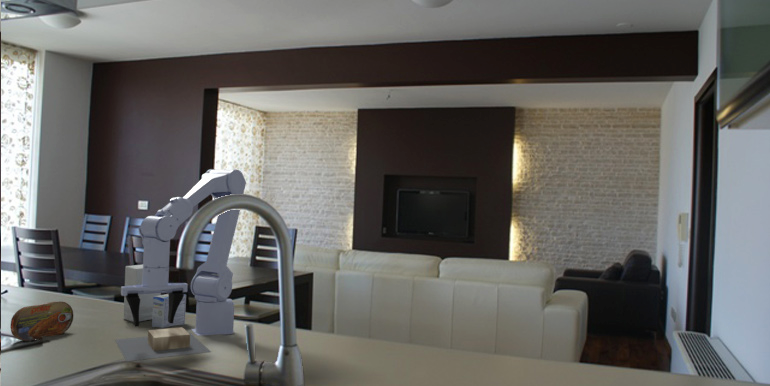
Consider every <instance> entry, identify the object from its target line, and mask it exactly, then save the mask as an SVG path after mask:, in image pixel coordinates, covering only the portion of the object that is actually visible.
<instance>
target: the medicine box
mask: <svg viewBox="0 0 770 386" xmlns="http://www.w3.org/2000/svg"><path fill="white" fill-rule="evenodd" d="M183 294H184V293H183ZM186 304H187V294H186V293H185V294H184V297H183V299H182V300H181V302H180V304H179V306H178V308H177V311H176V313H175V317H174V321H173V323H169V322H168V312H169V296H168V293H166V294H165V293H164V294H161V295H159V296H154V297H153V315H152V319H151V327H152V328H160V329H166V328H168V327H171V326H180V325H181V326H183V325H185V324H186V306H187V305H186Z"/></svg>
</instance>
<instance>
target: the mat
mask: <svg viewBox="0 0 770 386" xmlns="http://www.w3.org/2000/svg"><path fill="white" fill-rule="evenodd" d="M188 333H189V334H190V347H186V348H177V349H167V350H158V351H153V349H152V348H151V347H150V345H149V344H148V336H140V337H128V338H127V337H126V338H120V339H119V338H117V339H114V341H115V342H116V343H115V344H116V345H117V347H118V349H119V350H120V353H121V355H122V356H123V358H124V359H125V361H126V362H134V361H144V360H152V359H153V360H154V359H162V358H171V357H181V356H189V355H197V354H205V353H211V352H212V351H211V350H210V349H209V348H207V346H206V345H204V344H203V343H202V342H201V341H200V340H199V339H198V338H197V337H195V336H194V334H193V333H191V332H188Z"/></svg>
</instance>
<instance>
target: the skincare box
mask: <svg viewBox="0 0 770 386" xmlns="http://www.w3.org/2000/svg"><path fill="white" fill-rule="evenodd" d="M142 279H143V263H142V264H135V265H126V266H125V271H124V286H132V285H141V284H142ZM159 291H162V290H159ZM159 295H162V293H154V294H138V296H139V298H140V306H139V323H140V322H144V321H150V320H151V321H152V315H153V297H154V296H159ZM123 297H124V301H123V320H126V321H127V322H132V323H134V321H133V316H132V312H131V309H130V306H129V304H128V301H127V299H126V297H125V296H123Z"/></svg>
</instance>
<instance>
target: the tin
mask: <svg viewBox="0 0 770 386" xmlns="http://www.w3.org/2000/svg"><path fill="white" fill-rule="evenodd" d="M73 320H74V310H73V308H72V306H71V305H70V304H69V303H68V302H66V301H51V302H45V303H40V304H39V303H38V304H34V305H28V306H24V307H21V308H20V309H18V310H17V311H16V312H15V313H14V314H13V316H12V317H11V320H10V333H11V335H12V336H13V337H14V338H16V339H17V340H20V341H25V342H31V341H30V340H35V339H39V340H42V339H43V337H52V336H54V337H55V336H59V335H62V334H64V333H65V332H67V331H68V330H69V328H71V326H72V323H73ZM35 341H36V340H35Z"/></svg>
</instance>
